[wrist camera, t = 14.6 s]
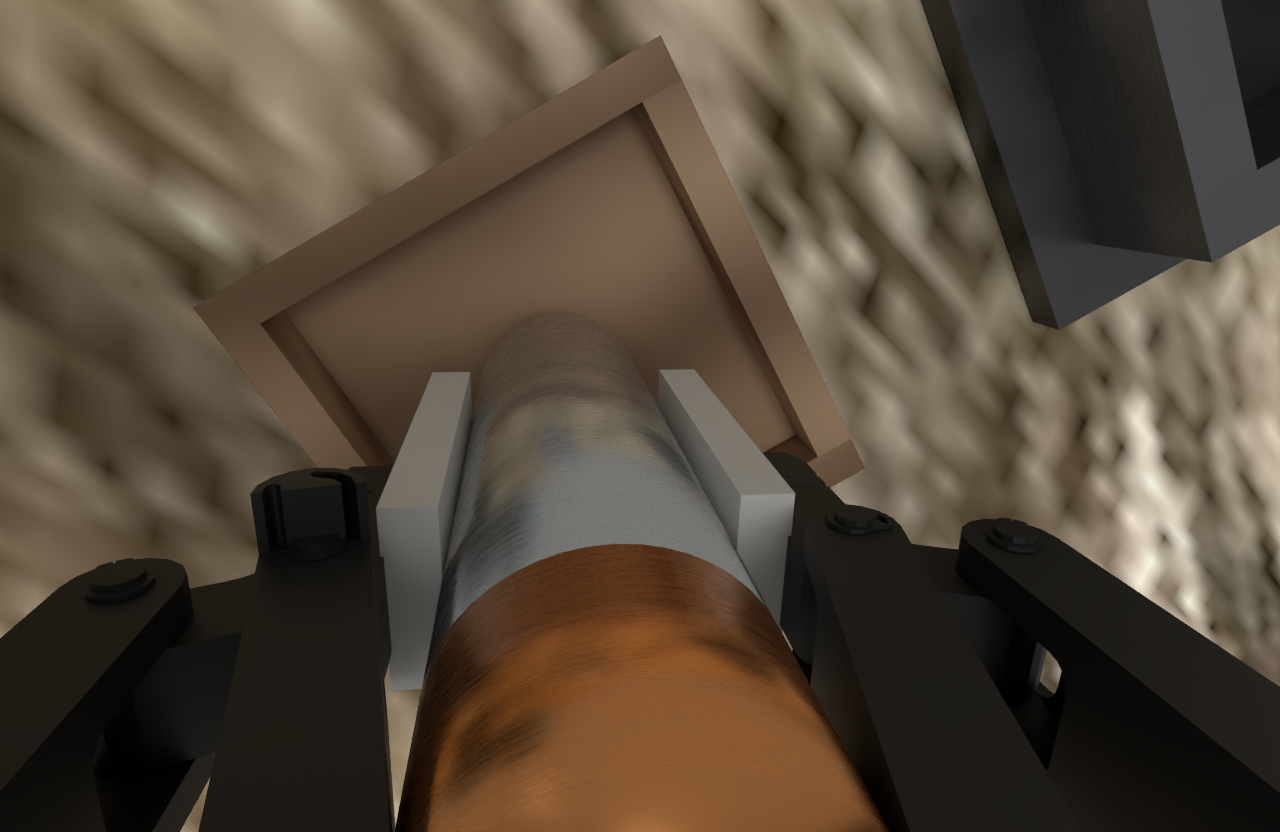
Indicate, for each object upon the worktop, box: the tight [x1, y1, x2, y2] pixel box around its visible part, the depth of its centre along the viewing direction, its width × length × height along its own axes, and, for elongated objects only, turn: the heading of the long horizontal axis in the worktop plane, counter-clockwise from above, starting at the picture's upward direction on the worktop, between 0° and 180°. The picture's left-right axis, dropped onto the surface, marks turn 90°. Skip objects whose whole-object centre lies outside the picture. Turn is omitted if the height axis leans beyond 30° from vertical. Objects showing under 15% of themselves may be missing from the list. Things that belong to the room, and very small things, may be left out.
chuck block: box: [921, 0, 1280, 330], centre depth 19 cm, size 12×12×5 cm
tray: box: [193, 35, 864, 488], centre depth 20 cm, size 12×12×3 cm
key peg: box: [395, 314, 890, 832], centre depth 12 cm, size 4×4×15 cm
